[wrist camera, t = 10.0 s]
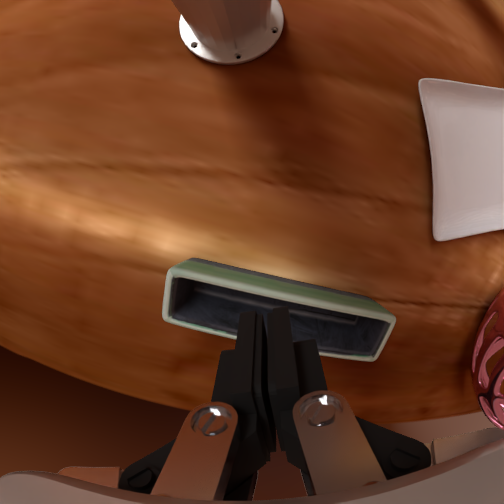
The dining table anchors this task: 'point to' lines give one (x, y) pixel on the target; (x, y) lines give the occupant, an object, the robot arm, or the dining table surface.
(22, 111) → the dining table surface
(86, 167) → the dining table surface
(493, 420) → the spiral basket
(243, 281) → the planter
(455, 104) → the salad plate
